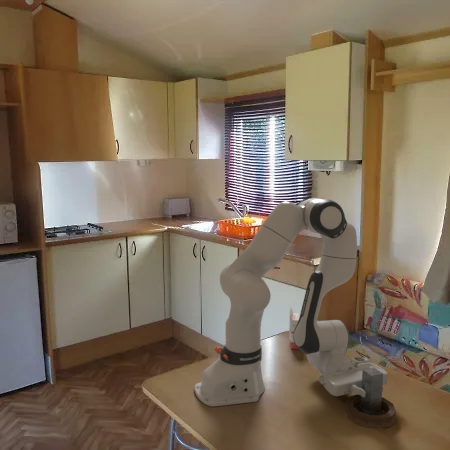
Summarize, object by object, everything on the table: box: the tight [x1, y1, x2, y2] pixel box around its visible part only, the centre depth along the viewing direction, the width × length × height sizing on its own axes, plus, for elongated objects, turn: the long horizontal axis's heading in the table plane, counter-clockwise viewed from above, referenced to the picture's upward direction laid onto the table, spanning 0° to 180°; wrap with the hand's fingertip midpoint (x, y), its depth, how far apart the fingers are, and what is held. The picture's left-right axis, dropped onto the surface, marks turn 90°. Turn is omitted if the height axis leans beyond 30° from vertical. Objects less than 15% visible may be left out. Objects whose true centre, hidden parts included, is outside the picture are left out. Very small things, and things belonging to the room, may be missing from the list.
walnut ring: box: [345, 394, 397, 430], centre depth 137 cm, size 13×13×3 cm
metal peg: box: [359, 367, 384, 415], centre depth 136 cm, size 4×4×12 cm
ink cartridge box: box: [288, 306, 301, 350], centre depth 185 cm, size 9×5×15 cm, turn 178°
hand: (373, 392), depth 135 cm, fingers closed on metal peg, 4 cm apart
